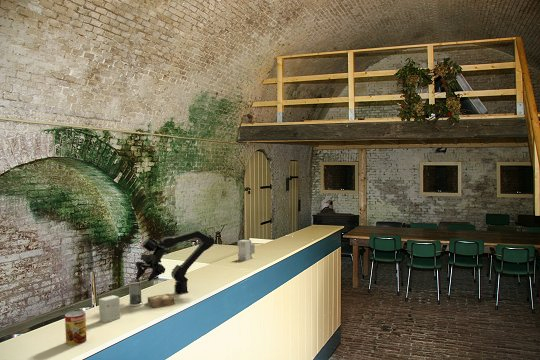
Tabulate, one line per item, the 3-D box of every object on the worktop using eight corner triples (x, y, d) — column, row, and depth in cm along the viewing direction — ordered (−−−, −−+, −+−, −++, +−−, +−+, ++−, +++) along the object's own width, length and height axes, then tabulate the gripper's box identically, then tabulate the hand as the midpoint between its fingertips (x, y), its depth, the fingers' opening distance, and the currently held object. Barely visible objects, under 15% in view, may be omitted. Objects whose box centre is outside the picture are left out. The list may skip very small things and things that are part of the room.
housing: (141, 301, 242) (140, 279, 242) (144, 305, 235) (143, 281, 235) (127, 304, 238) (126, 281, 238) (130, 307, 232) (129, 283, 232)
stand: (168, 299, 245) (168, 293, 245) (174, 304, 235) (174, 298, 235) (147, 302, 240) (147, 297, 240) (153, 307, 230) (152, 302, 229)
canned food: (76, 346, 180) (75, 317, 180) (61, 344, 183) (60, 315, 183) (90, 339, 187) (89, 311, 187) (76, 337, 190) (75, 309, 190)
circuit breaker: (255, 257, 359) (255, 238, 359) (245, 260, 347) (245, 241, 347) (248, 256, 363) (247, 238, 363) (238, 259, 351) (237, 241, 351)
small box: (114, 316, 218) (113, 294, 218) (120, 318, 215) (119, 296, 215) (99, 320, 212) (98, 298, 212) (105, 322, 208) (104, 300, 208)
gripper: (137, 247, 251) (122, 270, 241) (160, 249, 241) (146, 273, 231) (148, 258, 257) (133, 281, 248) (171, 260, 248) (157, 285, 238)
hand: (142, 280), depth 241 cm, fingers open, 9 cm apart
